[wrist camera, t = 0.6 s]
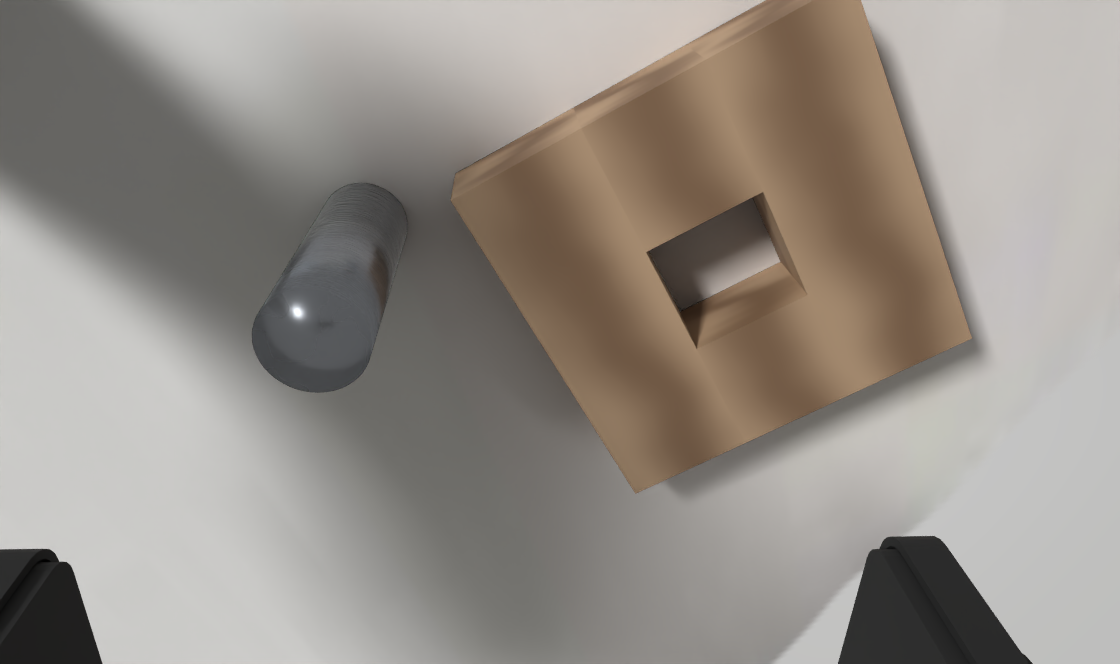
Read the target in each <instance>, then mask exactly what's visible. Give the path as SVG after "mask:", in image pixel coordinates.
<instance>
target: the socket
mask: <svg viewBox="0 0 1120 664" xmlns="http://www.w3.org/2000/svg"><path fill="white" fill-rule="evenodd" d="M752 197H753V200H754V202H755V204H756V207H757V209H758V211H759V213H760V216H761V218H762V220H763V223H764V225H765V227H766V229H767V232H768V234H769V236H770V238H771V241H772V243H773V245H774V248H775V250H776V252H777V254H778V257H779V259H780V261H781V262H779V263H777V264H775V265H773V266H771V267H769V268H767V269H765V270H763V271H761V272H759V273H757V274H755V275H753V276H751V277H749V278H747V279H745V280H743V281H741V282H739V283H737V284H735V285H733V286H731V287H729V288H727V289H725V290H723V291H721V292H719V293H717V294H715V295H713V296H711V297H709V298H707V299H705V300H703V301H701V302H699V303H697V304H695V305H693V306H691V307H689V308H687V309H685V310H683V311H681V312H680V311H679V309H678V307H677V305H676V303H675V302H674V300H673V298H672V296H671V294H670V292H669V290H668V288H667V286H666V284H665V282H664V280H663V279H662V277H661V275H660V273H659V271H658V269H657V267H656V265H655V263H654V261H653V259H652V258H651V256H650V254H649V252H648V251H649V250H651V249H653V248H655V247H657V246H659V245H661V244H663V243H665V242H667V241H669V240H671V239H673V238H675V237H676V236H678V235H680V234H682V233H684V232H686V231H688V230H690V229H692V228H694V227H696V226H698V225H700V224H702V223H704V222H706V221H707V220H709V219H711V218H713V217H715V216H717V215H719V214H721V213H723V212H725V211H727V210H729V209H731V208H733V207H735V206H737V205H738V204H740V203H742V202H744V201H746V200H748V199H750V198H752ZM451 202H452V204H453V205H454V207H455V208H456V210H457V212H458V213H459V215H460V216H461V218H462V220H463V221H464V223H465V224H466V226H467V227H468V229H469V231H470V232H471V234H472V235H473V237H474V239H475V240H476V242H477V243H478V245H479V246H480V248H481V250H482V251H483V253H484V254H485V256H486V258H487V259H488V261H489V262H490V264H491V265H492V267H493V269H494V270H495V272H496V273H497V275H498V277H499V278H500V280H501V281H502V283H503V284H504V286H505V288H506V289H507V291H508V292H509V294H510V296H511V297H512V299H513V300H514V302H515V303H516V305H517V307H518V308H519V310H520V311H521V313H522V315H523V316H524V318H525V319H526V321H527V323H528V324H529V326H530V327H531V329H532V330H533V332H534V334H535V335H536V337H537V338H538V340H539V342H540V343H541V345H542V346H543V348H544V349H545V351H546V353H547V354H548V356H549V357H550V359H551V361H552V362H553V364H554V365H555V367H556V368H557V370H558V372H559V373H560V375H561V376H562V378H563V380H564V381H565V383H566V384H567V386H568V387H569V389H570V391H571V392H572V394H573V395H574V397H575V399H576V400H577V402H578V403H579V405H580V406H581V408H582V410H583V411H584V413H585V414H586V416H587V418H588V419H589V421H590V422H591V424H592V425H593V427H594V429H595V430H596V432H597V433H598V435H599V437H600V438H601V440H602V441H603V443H604V445H605V446H606V448H607V449H608V451H609V452H610V454H611V456H612V457H613V459H614V460H615V462H616V464H617V465H618V467H619V468H620V470H621V471H622V473H623V475H624V476H625V478H626V479H627V481H628V483H629V484H630V486H631V487H632V489H633V490H634V492H635V494H636V493H638V492H640V491H642V490H645V489H647V488H649V487H651V486H653V485H655V484H658V483H660V482H662V481H664V480H666V479H668V478H671V477H673V476H675V475H677V474H679V473H681V472H684V471H686V470H688V469H690V468H692V467H694V466H697V465H699V464H701V463H703V462H705V461H707V460H710V459H712V458H714V457H716V456H718V455H720V454H723V453H725V452H727V451H729V450H731V449H733V448H736V447H738V446H740V445H742V444H744V443H746V442H749V441H751V440H753V439H755V438H757V437H759V436H762V435H764V434H766V433H768V432H770V431H772V430H775V429H777V428H779V427H781V426H783V425H785V424H788V423H790V422H792V421H794V420H796V419H798V418H801V417H803V416H805V415H807V414H809V413H811V412H814V411H816V410H818V409H820V408H822V407H824V406H827V405H829V404H831V403H833V402H835V401H837V400H840V399H842V398H844V397H846V396H848V395H850V394H853V393H855V392H857V391H859V390H861V389H863V388H866V387H868V386H870V385H872V384H874V383H876V382H879V381H881V380H883V379H885V378H887V377H889V376H892V375H894V374H896V373H898V372H900V371H902V370H905V369H907V368H909V367H911V366H913V365H915V364H918V363H920V362H922V361H924V360H926V359H928V358H931V357H933V356H935V355H937V354H939V353H941V352H944V351H946V350H948V349H950V348H952V347H954V346H957V345H959V344H961V343H963V342H965V341H967V340H970V339H972V337H971V334H970V331H969V328H968V325H967V322H966V319H965V316H964V313H963V309H962V306H961V303H960V300H959V297H958V294H957V291H956V288H955V285H954V282H953V279H952V276H951V273H950V270H949V267H948V264H947V261H946V258H945V255H944V252H943V249H942V246H941V243H940V240H939V237H938V233H937V230H936V227H935V224H934V221H933V218H932V215H931V212H930V209H929V206H928V203H927V200H926V197H925V194H924V191H923V188H922V185H921V182H920V179H919V176H918V173H917V170H916V167H915V164H914V161H913V157H912V154H911V151H910V148H909V145H908V142H907V139H906V136H905V133H904V130H903V127H902V124H901V121H900V118H899V115H898V112H897V109H896V106H895V103H894V100H893V97H892V94H891V91H890V88H889V84H888V81H887V78H886V75H885V72H884V69H883V66H882V63H881V60H880V57H879V54H878V51H877V48H876V45H875V42H874V39H873V36H872V33H871V30H870V27H869V24H868V21H867V18H866V15H865V12H864V8H863V5H862V2H861V0H766V1H764V2H762V3H760V4H759V5H757V6H755V7H753V8H751V9H750V10H748V11H746V12H744V13H742V14H741V15H739V16H737V17H735V18H733V19H732V20H730V21H728V22H726V23H725V24H723V25H721V26H719V27H717V28H716V29H714V30H712V31H710V32H708V33H707V34H705V35H703V36H701V37H699V38H698V39H696V40H694V41H692V42H690V43H689V44H687V45H685V46H683V47H682V48H680V49H678V50H676V51H674V52H673V53H671V54H669V55H667V56H665V57H664V58H662V59H660V60H658V61H656V62H655V63H653V64H651V65H649V66H647V67H646V68H644V69H642V70H640V71H639V72H637V73H635V74H633V75H631V76H630V77H628V78H626V79H624V80H622V81H621V82H619V83H617V84H615V85H613V86H612V87H610V88H608V89H606V90H604V91H603V92H601V93H599V94H597V95H596V96H594V97H592V98H590V99H588V100H587V101H585V102H583V103H581V104H579V105H578V106H576V107H574V108H572V109H570V110H569V111H567V112H565V113H563V114H561V115H560V116H558V117H556V118H554V119H553V120H551V121H549V122H547V123H545V124H544V125H542V126H540V127H538V128H536V129H535V130H533V131H531V132H529V133H527V134H526V135H524V136H522V137H520V138H518V139H517V140H515V141H513V142H511V143H509V144H508V145H506V146H504V147H502V148H501V149H499V150H497V151H495V152H493V153H492V154H490V155H488V156H486V157H484V158H483V159H481V160H479V161H477V162H475V163H474V164H472V165H470V166H468V167H466V168H465V169H463V170H461V171H459V172H458V173H456V174H455V179H454V184H453V190H452V195H451Z"/></svg>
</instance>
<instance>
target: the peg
mask: <svg viewBox="0 0 1120 664" xmlns="http://www.w3.org/2000/svg"><path fill="white" fill-rule="evenodd" d="M407 230H408V224H407V218H406V214H405V211H404V209H403V207H402V206H401V204H400V203H399V201H398V200H397V199H396V198H395V197H394V196H393V195H392V194H391V193H389V192H388V191H386V190H385V189H383V188H381V187H379V186H376V185H373V184H368V183H355V184H350V185H347V186H344V187H342V188H340V189H338V190H337V191H335V192H334V193H333V194H332V195H331V196H330V198H329V199H328V200H327V202H326V204H325V205H324V207H323V208H322V210H321V212H320V213H319V215H318V217H317V218H316V220H315V222H314V223H313V225H312V226H311V228H310V230H309V231H308V233H307V235H306V236H305V238H304V239H303V241H302V243H301V244H300V246H299V248H298V249H297V251H296V252H295V254H294V256H293V257H292V259H291V261H290V262H289V264H288V266H287V267H286V269H285V270H284V272H283V274H282V275H281V277H280V279H279V280H278V282H277V283H276V285H275V287H274V288H273V290H272V292H271V293H270V295H269V296H268V298H267V300H266V301H265V303H264V305H263V306H262V308H261V310H260V311H259V313H258V314H257V316H256V318H255V321H254V324H253V328H252V343H253V347H254V350H255V353H256V356H257V357H258V359H259V361H260V363H261V364H262V365H263V367H264V368H265V369H266V370H267V371H268V372H269V373H270V374H271V375H272V376H273V377H274V378H276V379H277V380H279V381H280V382H282V383H284V384H285V385H287V386H290V387H292V388H295V389H298V390H302V391H307V392H329V391H334V390H337V389H340V388H343V387H345V386H347V385H349V384H350V383H352V382H353V381H355V380H356V379H357V378H358V377H359V376H360V375H361V374H362V373H363V371H364V370H365V368H366V367H367V365H368V362H369V360H370V356H371V353H372V350H373V346H374V343H375V340H376V336H377V333H378V329H379V326H380V323H381V319H382V316H383V313H384V309H385V306H386V303H387V299H388V296H389V293H390V289H391V286H392V282H393V279H394V276H395V272H396V269H397V266H398V262H399V259H400V256H401V252H402V249H403V246H404V242H405V239H406V235H407Z"/></svg>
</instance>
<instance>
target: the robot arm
mask: <svg viewBox="0 0 1120 664" xmlns="http://www.w3.org/2000/svg"><path fill="white" fill-rule="evenodd" d="M0 664H102V661H101V658H100V655H99V651H98V648H97V645H96V642H95V639H94V636H93V632H92V629H91V626H90V623H89V620H88V617H87V613H86V610H85V607H84V604H83V601H82V597H81V594H80V591H79V588H78V585H77V582H76V578H75V575H74V572H73V570H72V567H71V565H70V564H68V563H67V562H59V560H58V558H57V556H56V554H55V553H54V552H53V551H51V550H50V549H5V550H0ZM838 664H1032V662H1031V661H1030V660H1029V659H1028V658H1027V657H1026V656H1025V655H1024V654H1022V653H1021V651H1020V650H1019V649H1018V647H1017V646H1016V644H1015V643H1014V641H1013V640H1012V639H1011V637H1010V636H1009V635H1008V633H1007V632H1006V630H1005V629H1004V627H1003V626H1002V624H1001V623H1000V622H999V620H998V619H997V617H996V616H995V615H994V613H993V612H992V610H991V609H990V607H989V606H988V605H987V603H986V602H985V600H984V599H983V597H982V596H981V595H980V593H979V592H978V591H977V589H976V588H975V586H974V585H973V584H972V582H971V581H970V579H969V578H968V576H967V575H966V573H965V572H964V571H963V569H962V568H961V566H960V565H959V563H958V562H957V561H956V559H955V558H954V556H953V555H952V553H951V552H950V551H949V549H948V548H947V546H946V545H945V544H944V543H943V542H942V541H941V540H940V539H939V538H937V537H935V536H909V537H887V538H886V539H885V540H884V541H883V542H882V544H881V547H880V549H873V550H871V551H870V552H869V554H868V557H867V560H866V564H865V567H864V571H863V574H862V578H861V582H860V585H859V589H858V593H857V597H856V600H855V604H854V608H853V611H852V615H851V618H850V622H849V626H848V629H847V633H846V637H845V640H844V644H843V647H842V651H841V655H840V658H839V662H838Z"/></svg>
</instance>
